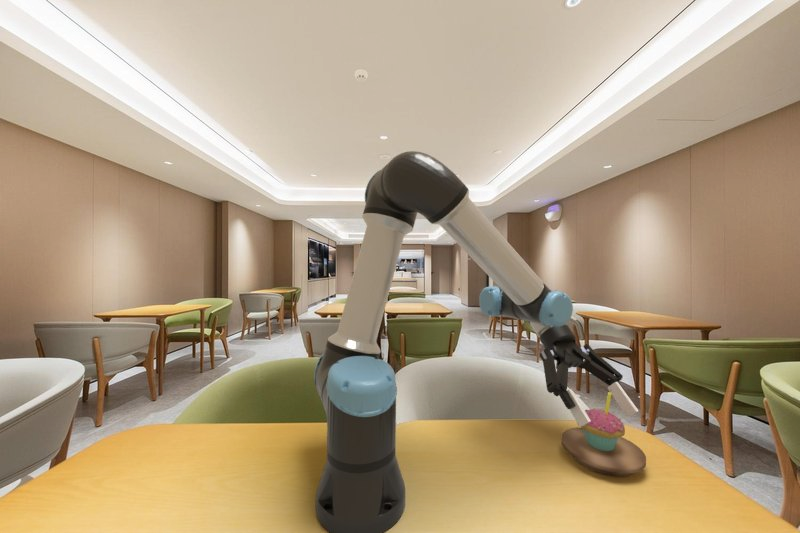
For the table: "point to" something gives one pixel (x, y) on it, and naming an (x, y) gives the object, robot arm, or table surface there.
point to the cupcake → (603, 428)
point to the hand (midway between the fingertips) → (610, 419)
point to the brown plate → (604, 455)
